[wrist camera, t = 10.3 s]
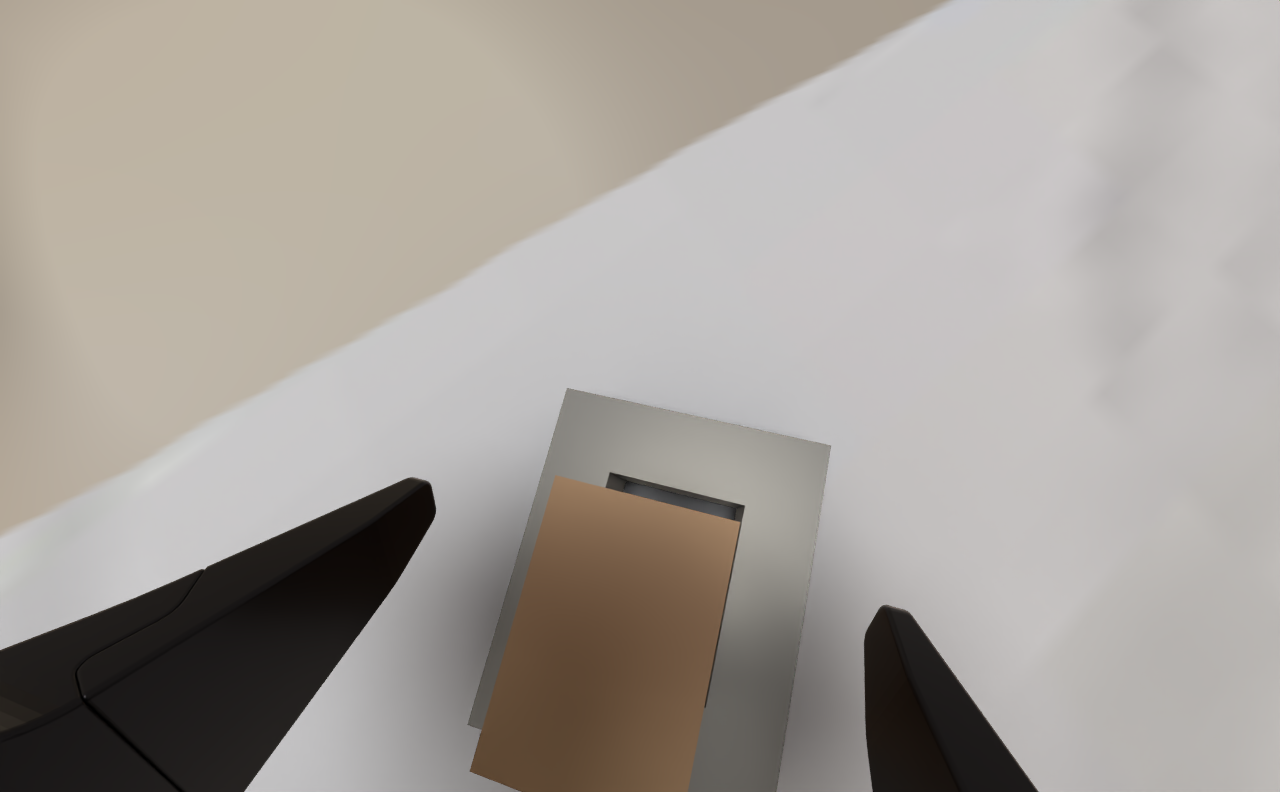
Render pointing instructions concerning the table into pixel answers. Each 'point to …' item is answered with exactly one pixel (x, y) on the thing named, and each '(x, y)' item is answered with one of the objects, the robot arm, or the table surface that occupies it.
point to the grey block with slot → (760, 574)
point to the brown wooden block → (609, 646)
